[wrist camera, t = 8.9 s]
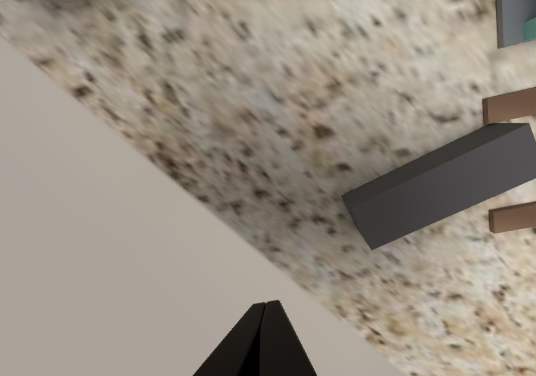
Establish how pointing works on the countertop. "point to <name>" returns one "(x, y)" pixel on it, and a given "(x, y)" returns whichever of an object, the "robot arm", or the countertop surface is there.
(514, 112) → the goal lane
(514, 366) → the countertop surface
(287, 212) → the countertop surface
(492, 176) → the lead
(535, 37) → the notched teal box
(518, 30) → the coaster
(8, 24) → the countertop surface
